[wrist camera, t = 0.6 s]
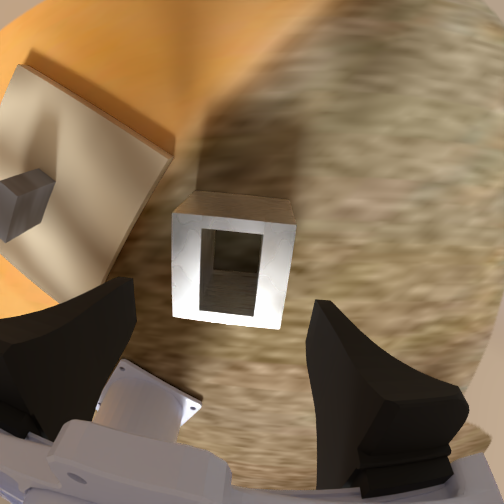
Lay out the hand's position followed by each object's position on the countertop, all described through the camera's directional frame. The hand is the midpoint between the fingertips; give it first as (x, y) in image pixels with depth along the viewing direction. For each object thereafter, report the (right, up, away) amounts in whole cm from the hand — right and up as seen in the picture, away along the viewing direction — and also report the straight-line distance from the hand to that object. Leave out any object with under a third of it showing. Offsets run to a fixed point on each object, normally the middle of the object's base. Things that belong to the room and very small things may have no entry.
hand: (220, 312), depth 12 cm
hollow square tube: (0, +3, +8) cm, 8 cm away
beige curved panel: (-13, +7, +7) cm, 16 cm away
